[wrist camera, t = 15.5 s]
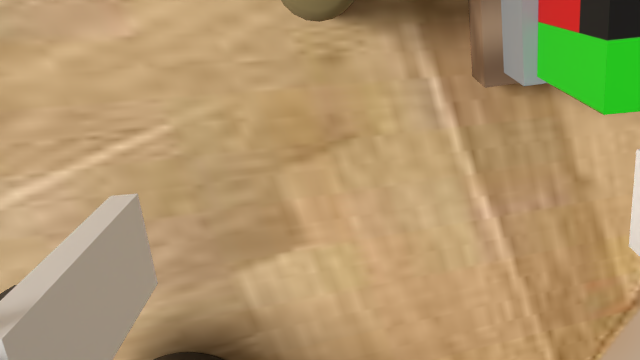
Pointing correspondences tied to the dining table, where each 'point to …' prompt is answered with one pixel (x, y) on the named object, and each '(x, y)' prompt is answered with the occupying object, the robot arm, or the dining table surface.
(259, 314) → the dining table surface
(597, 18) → the puzzle toy
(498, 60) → the walnut base slab
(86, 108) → the dining table surface
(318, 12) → the cork
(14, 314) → the robot arm
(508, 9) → the grey top slab
